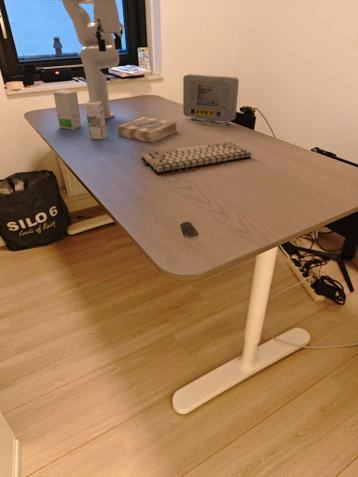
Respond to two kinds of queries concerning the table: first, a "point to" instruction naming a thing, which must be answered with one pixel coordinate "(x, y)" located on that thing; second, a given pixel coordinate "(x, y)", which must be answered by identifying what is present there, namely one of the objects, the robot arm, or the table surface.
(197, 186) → the table surface
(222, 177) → the table surface
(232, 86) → the network device
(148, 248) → the table surface
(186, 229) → the block
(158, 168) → the mechanical keyboard
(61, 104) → the skincare box
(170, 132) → the birch platform
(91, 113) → the syrup box
